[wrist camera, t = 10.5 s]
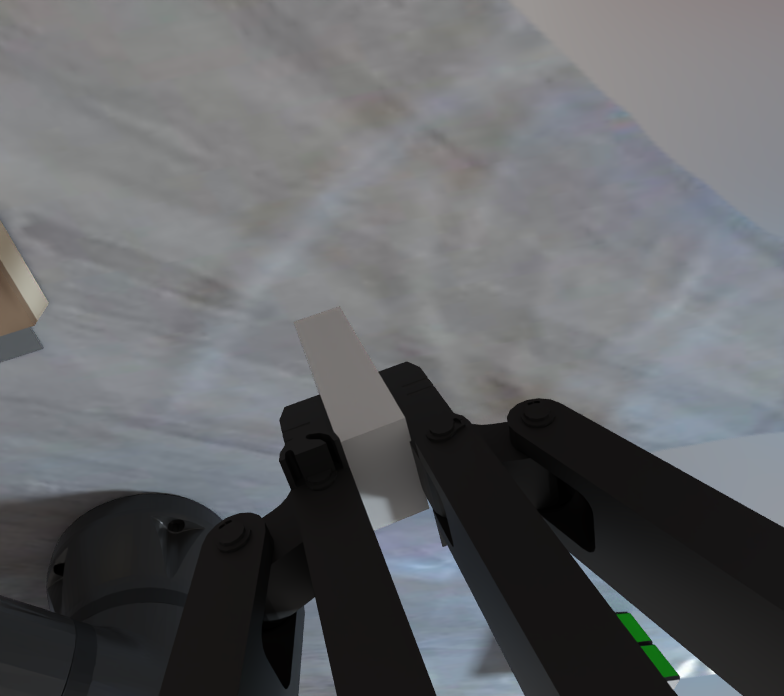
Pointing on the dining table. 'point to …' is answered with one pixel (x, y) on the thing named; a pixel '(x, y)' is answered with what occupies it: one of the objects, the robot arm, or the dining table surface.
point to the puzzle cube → (650, 649)
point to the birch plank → (17, 289)
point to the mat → (18, 344)
